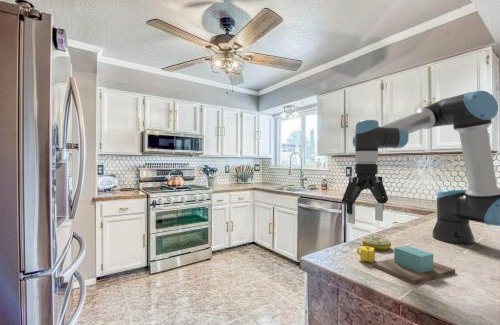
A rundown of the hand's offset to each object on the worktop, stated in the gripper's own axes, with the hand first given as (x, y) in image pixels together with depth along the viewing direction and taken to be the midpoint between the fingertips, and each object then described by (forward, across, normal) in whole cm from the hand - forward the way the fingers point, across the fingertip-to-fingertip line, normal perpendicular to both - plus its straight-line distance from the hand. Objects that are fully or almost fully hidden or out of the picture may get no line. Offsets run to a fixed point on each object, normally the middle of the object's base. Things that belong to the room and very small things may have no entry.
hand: (365, 221), depth 91 cm
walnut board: (+14, -8, +12) cm, 20 cm away
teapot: (+14, 0, 0) cm, 14 cm away
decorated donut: (+14, -16, -9) cm, 23 cm away
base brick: (+13, -8, +12) cm, 19 cm away
